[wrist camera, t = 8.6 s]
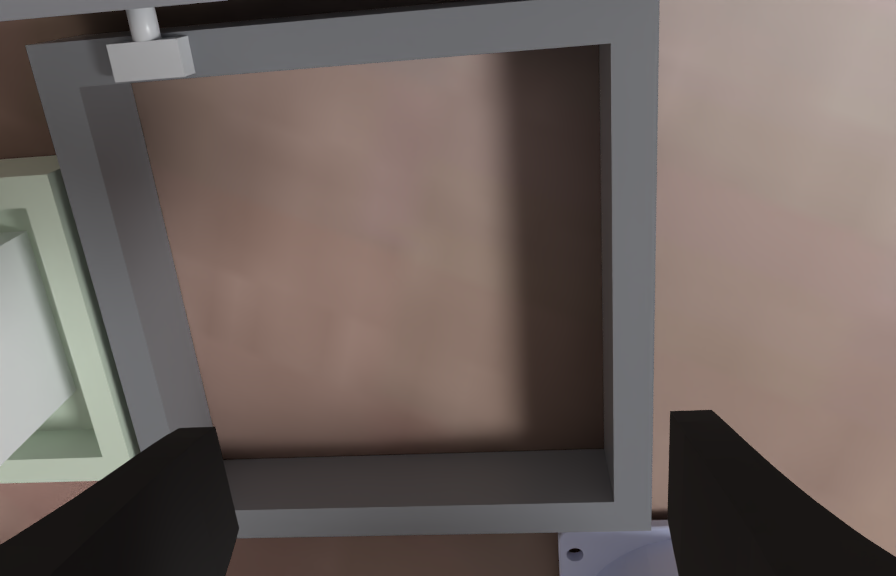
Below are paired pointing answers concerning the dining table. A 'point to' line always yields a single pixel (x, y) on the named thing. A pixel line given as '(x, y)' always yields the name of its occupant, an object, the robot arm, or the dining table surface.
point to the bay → (66, 337)
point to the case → (160, 301)
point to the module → (27, 347)
